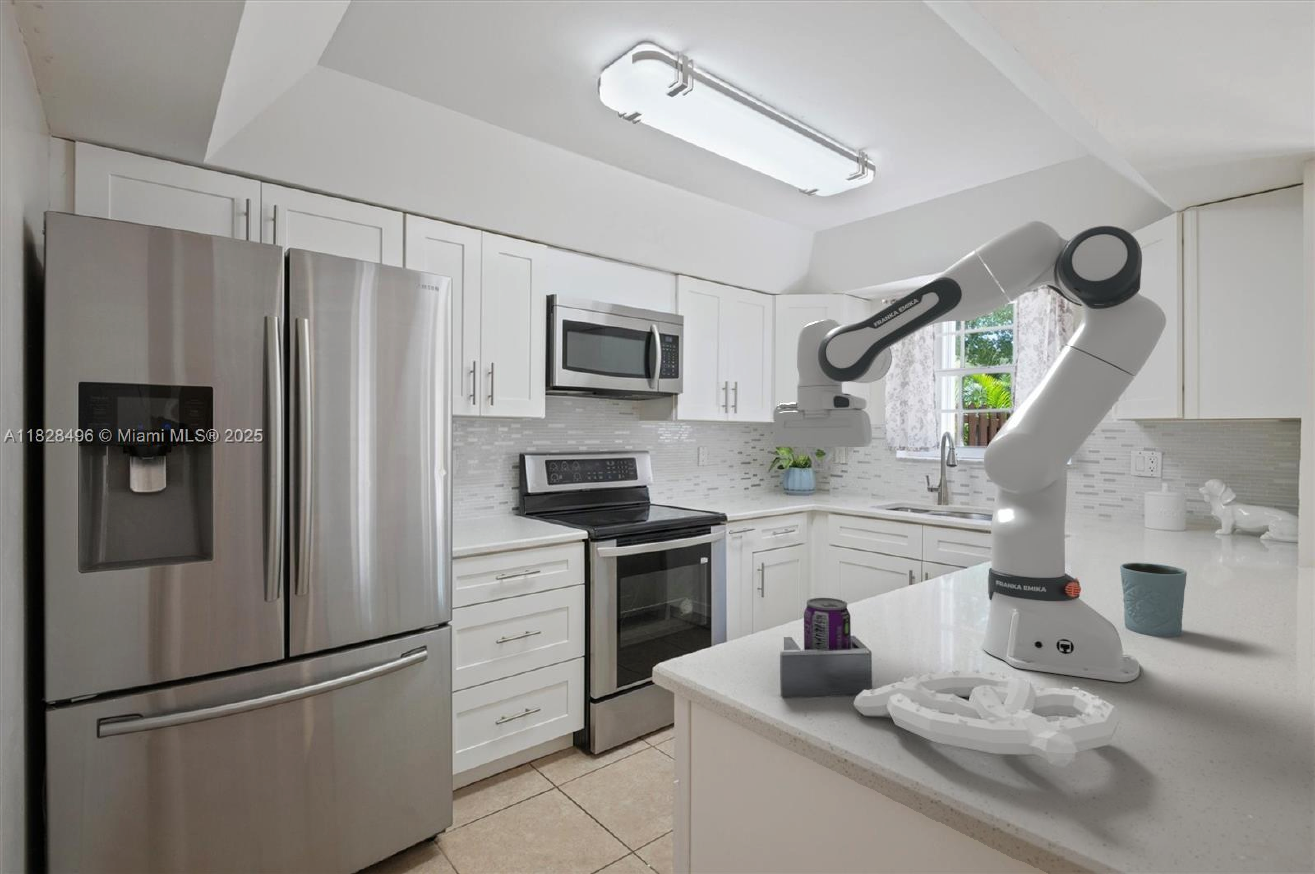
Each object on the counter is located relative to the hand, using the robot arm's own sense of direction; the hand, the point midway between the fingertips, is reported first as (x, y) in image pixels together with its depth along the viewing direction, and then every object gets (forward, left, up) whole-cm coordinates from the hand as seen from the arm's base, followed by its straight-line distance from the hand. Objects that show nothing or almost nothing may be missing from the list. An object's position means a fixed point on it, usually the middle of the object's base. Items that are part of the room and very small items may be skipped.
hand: (820, 469), depth 129 cm
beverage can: (-13, +27, -31) cm, 44 cm away
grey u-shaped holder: (-13, +30, -31) cm, 45 cm away
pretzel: (-36, +33, -31) cm, 58 cm away
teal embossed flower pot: (-53, -32, -31) cm, 69 cm away
